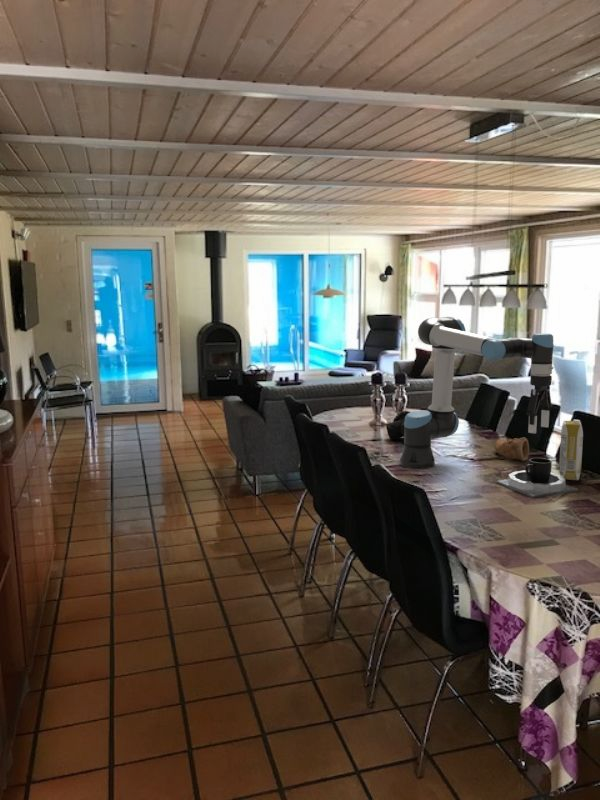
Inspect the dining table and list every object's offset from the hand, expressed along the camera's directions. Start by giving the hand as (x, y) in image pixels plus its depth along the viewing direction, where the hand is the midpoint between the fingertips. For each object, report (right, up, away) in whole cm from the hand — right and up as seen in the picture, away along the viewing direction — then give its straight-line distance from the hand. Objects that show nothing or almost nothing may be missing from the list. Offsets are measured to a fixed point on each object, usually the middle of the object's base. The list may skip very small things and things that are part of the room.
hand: (538, 429), depth 241 cm
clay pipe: (+6, -15, +48) cm, 51 cm away
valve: (-34, -11, +82) cm, 89 cm away
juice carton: (+18, -20, +15) cm, 31 cm away
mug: (0, -22, +3) cm, 22 cm away
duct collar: (0, -22, +3) cm, 23 cm away
